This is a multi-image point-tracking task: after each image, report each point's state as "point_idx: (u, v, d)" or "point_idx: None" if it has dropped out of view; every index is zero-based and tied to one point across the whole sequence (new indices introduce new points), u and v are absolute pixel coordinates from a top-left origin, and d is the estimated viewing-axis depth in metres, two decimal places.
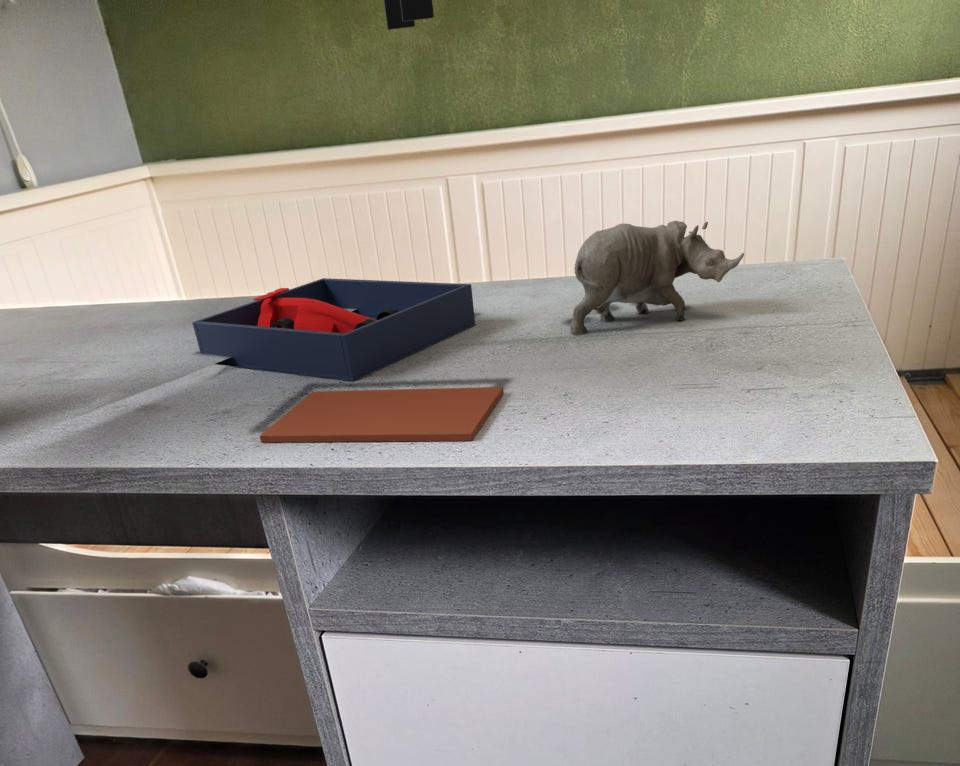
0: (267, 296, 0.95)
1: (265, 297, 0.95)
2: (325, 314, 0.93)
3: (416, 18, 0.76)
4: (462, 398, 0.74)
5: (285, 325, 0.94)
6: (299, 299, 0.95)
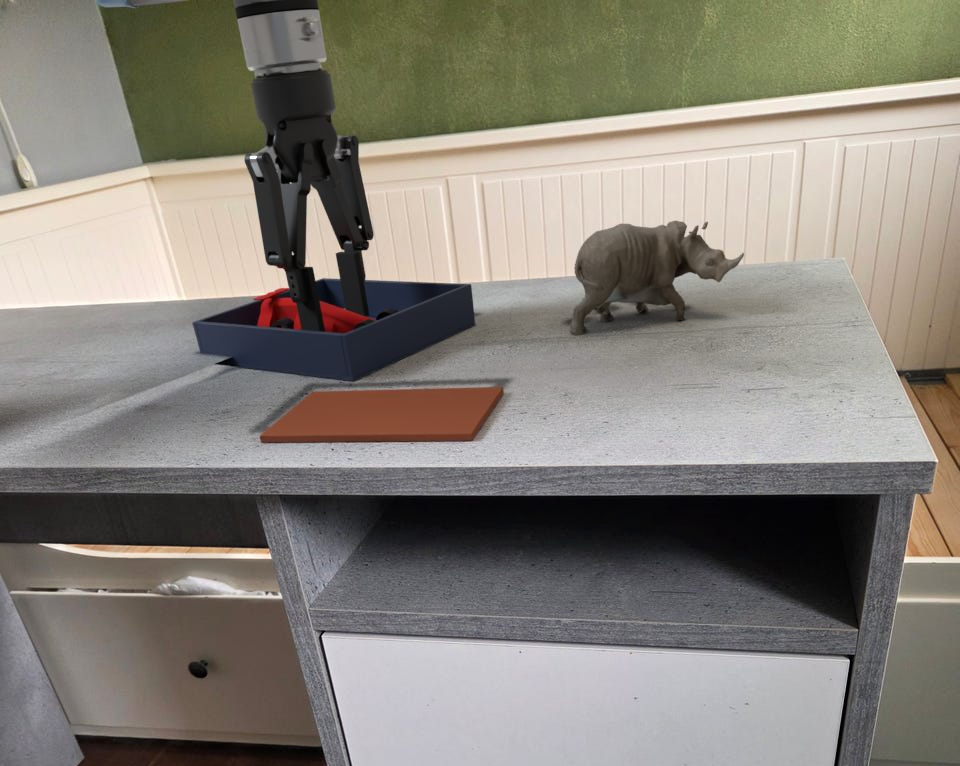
0: (267, 296, 0.95)
1: (265, 297, 0.95)
2: (325, 314, 0.93)
3: None
4: (462, 398, 0.74)
5: (285, 325, 0.94)
6: None
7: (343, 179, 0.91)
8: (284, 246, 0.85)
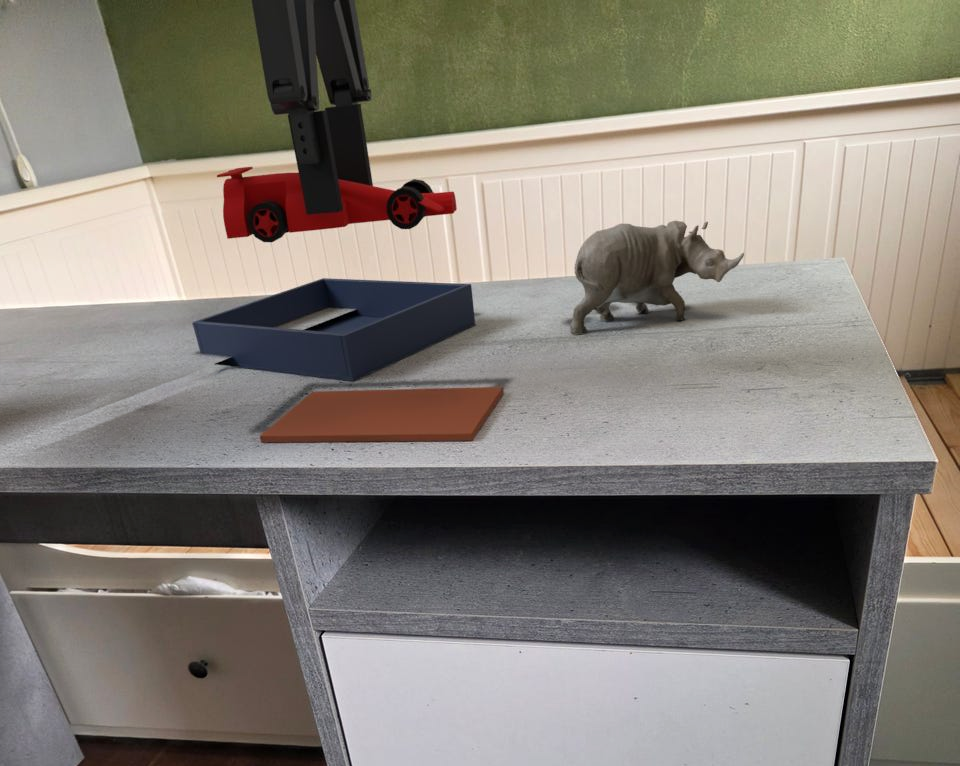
0: (235, 172, 0.67)
1: (234, 172, 0.67)
2: None
3: (320, 212, 0.66)
4: (462, 398, 0.74)
5: (273, 209, 0.67)
6: (282, 173, 0.68)
7: None
8: (300, 69, 0.59)
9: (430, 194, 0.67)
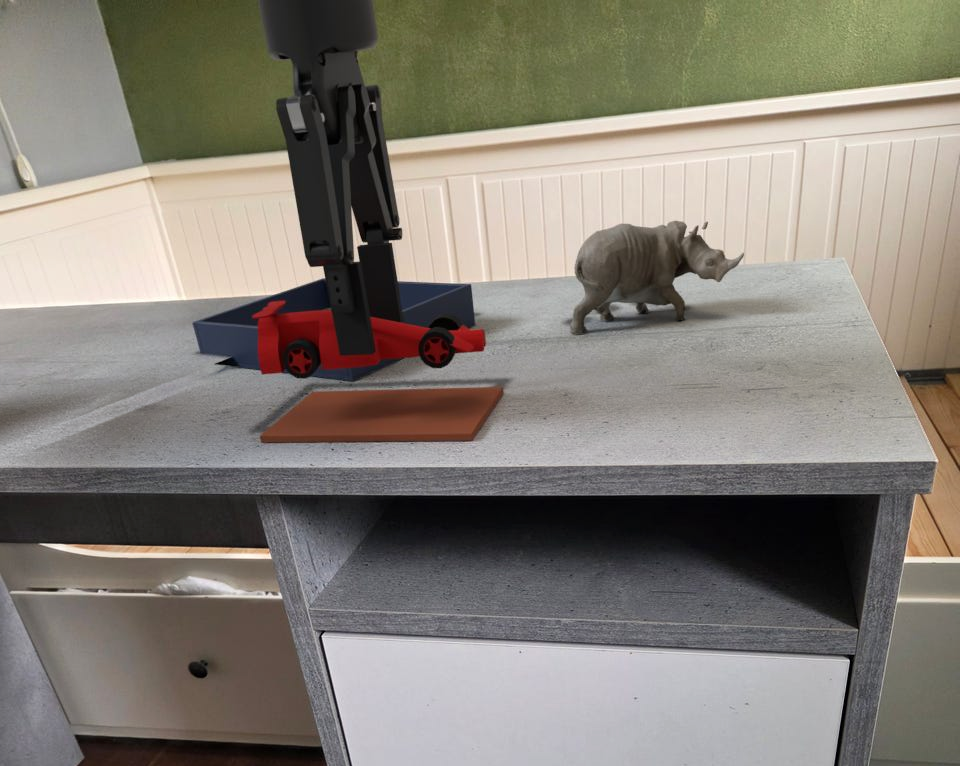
0: (270, 312, 0.69)
1: (268, 313, 0.68)
2: None
3: (354, 354, 0.67)
4: (462, 398, 0.74)
5: (307, 348, 0.68)
6: (315, 311, 0.69)
7: None
8: (336, 231, 0.60)
9: (460, 332, 0.69)
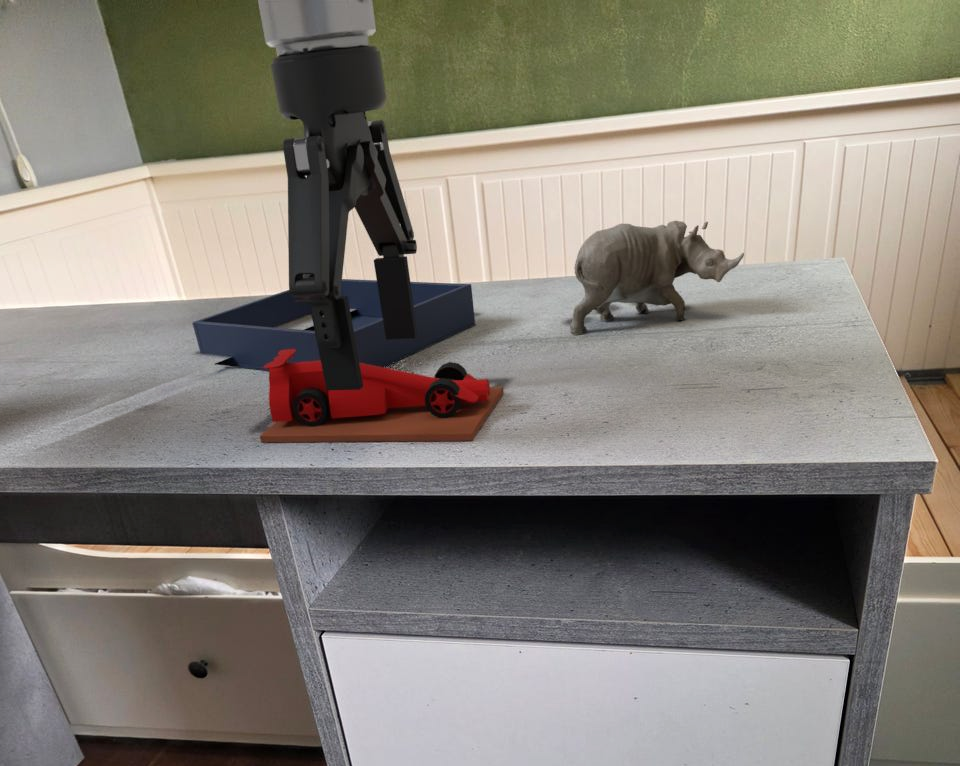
0: (281, 362, 0.71)
1: (280, 364, 0.70)
2: (371, 378, 0.71)
3: (340, 389, 0.65)
4: None
5: (317, 398, 0.70)
6: None
7: None
8: (325, 267, 0.59)
9: (466, 382, 0.71)
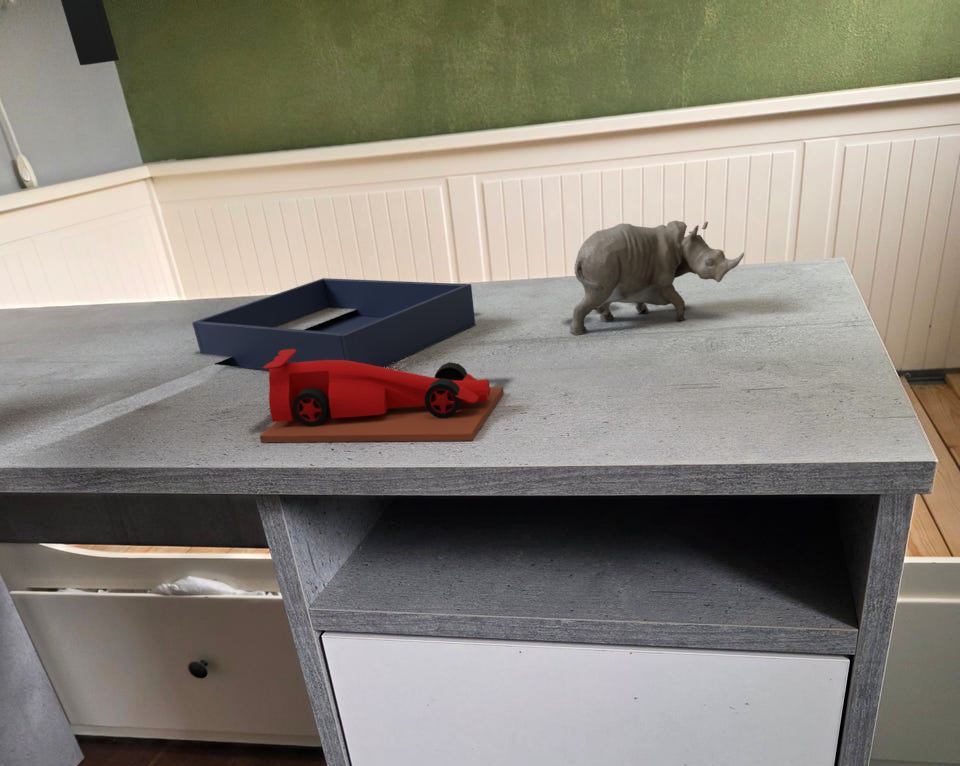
0: (281, 362, 0.71)
1: (279, 364, 0.70)
2: (371, 378, 0.71)
3: None
4: None
5: (317, 398, 0.70)
6: (325, 361, 0.71)
7: None
8: None
9: (465, 382, 0.71)
